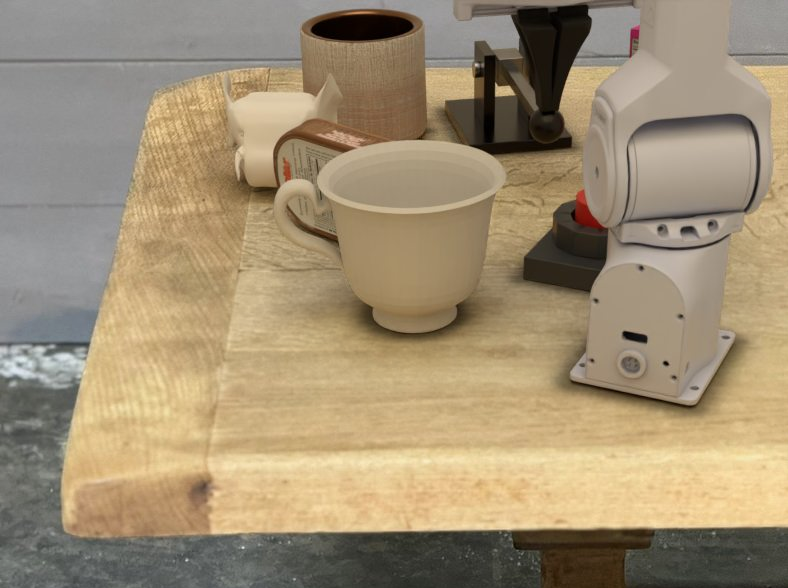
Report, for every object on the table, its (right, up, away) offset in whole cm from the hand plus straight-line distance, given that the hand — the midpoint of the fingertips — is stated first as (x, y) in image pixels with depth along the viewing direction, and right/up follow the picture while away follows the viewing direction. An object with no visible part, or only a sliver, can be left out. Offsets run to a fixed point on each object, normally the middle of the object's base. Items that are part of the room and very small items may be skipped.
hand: (547, 107), depth 103 cm
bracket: (-2, +3, +16) cm, 16 cm away
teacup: (-12, -18, -14) cm, 26 cm away
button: (+3, -11, -9) cm, 15 cm away
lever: (-1, +2, +7) cm, 8 cm away
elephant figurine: (-21, -5, +6) cm, 23 cm away
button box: (+3, -13, -8) cm, 16 cm away
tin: (-15, -11, -4) cm, 19 cm away
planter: (-14, +2, +15) cm, 21 cm away
